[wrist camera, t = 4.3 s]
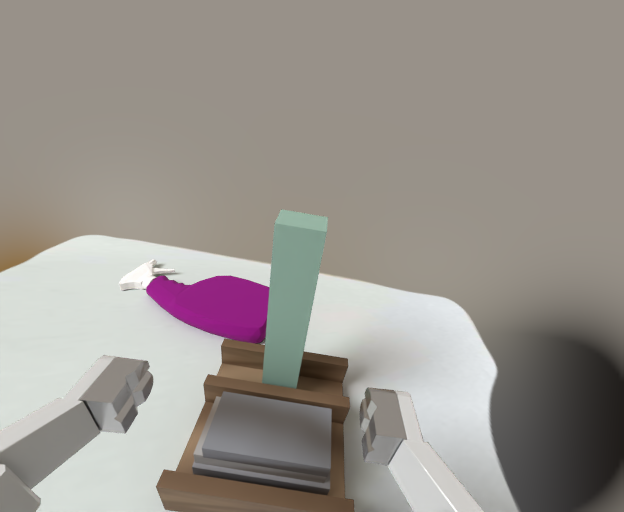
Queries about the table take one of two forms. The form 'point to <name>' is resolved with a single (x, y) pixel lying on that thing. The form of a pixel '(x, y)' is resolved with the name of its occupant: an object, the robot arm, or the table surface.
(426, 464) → the robot arm
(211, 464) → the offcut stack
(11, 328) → the table surface
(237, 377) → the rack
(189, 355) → the table surface
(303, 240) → the tall board
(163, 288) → the spray bottle
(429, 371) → the table surface
